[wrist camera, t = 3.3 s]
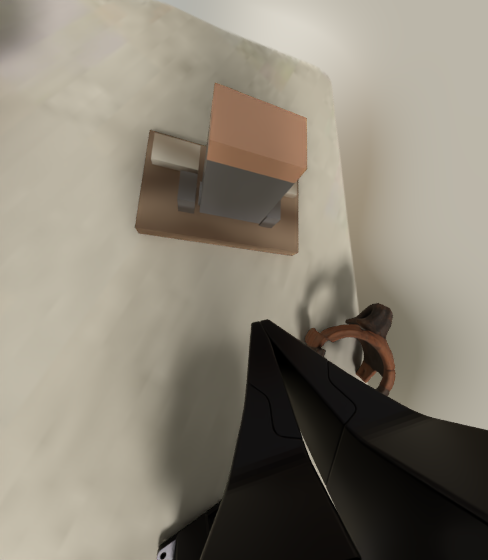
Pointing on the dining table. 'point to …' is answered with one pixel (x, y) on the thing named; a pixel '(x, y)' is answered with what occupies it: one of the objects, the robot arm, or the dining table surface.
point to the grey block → (250, 156)
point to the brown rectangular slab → (185, 210)
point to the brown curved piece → (364, 343)
